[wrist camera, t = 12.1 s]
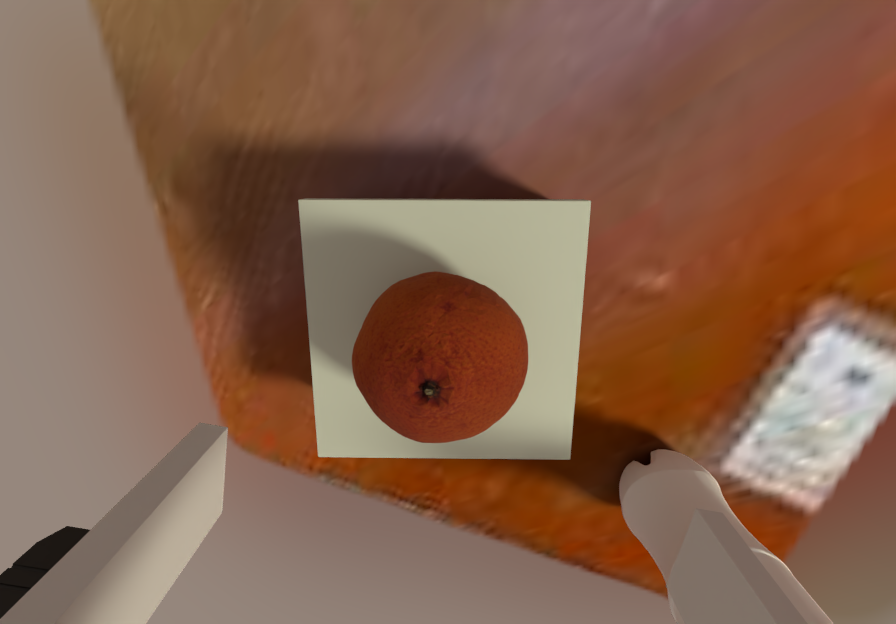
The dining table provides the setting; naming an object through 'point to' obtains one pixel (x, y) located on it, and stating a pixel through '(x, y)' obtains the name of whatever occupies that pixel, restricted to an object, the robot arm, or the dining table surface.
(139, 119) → the dining table surface
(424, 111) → the dining table surface
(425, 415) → the fruit
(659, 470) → the water bottle
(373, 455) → the small white table
